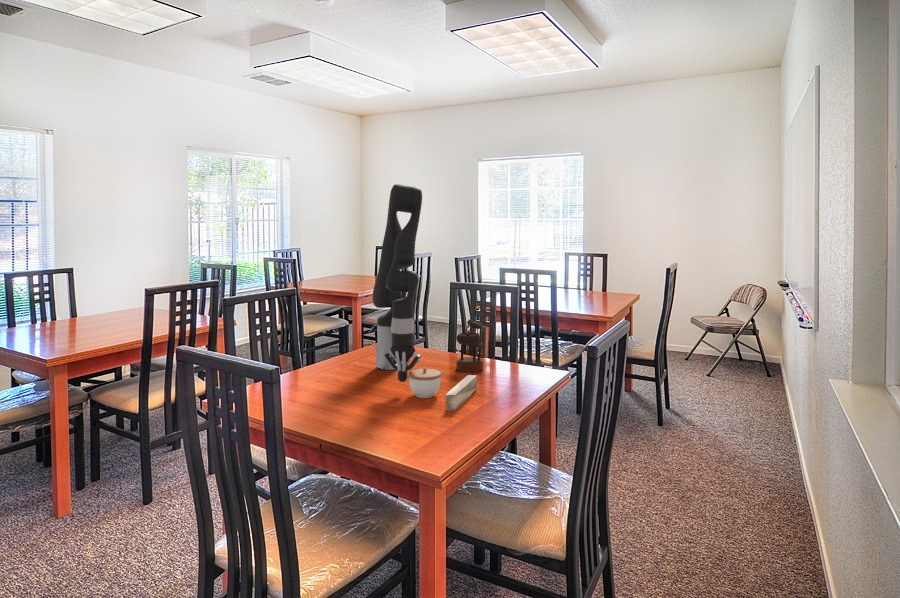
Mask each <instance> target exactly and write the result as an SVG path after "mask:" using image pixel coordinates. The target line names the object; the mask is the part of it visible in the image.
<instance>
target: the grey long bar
mask: <svg viewBox="0 0 900 598" xmlns="http://www.w3.org/2000/svg"><path fill="white" fill-rule="evenodd" d="M477 378H478V376H477V375H476V374H475V375H474V374H473V375H472V374H468V375H466V376H465V377H464V378H463V379H462V380H460V382H458V383H457V384H455V385H454V387H452V388H451V389H450V390H449V391H448V392H447V393H446V394H445V411H450V412H455V411H457V410H458V409H459V408H460V407H461V405H463V404H464V403H465V402H466V401H467V400H468V399H469V398H470V397H471V396H472V395H473V394H474V393H475V392H476V391H477V390H478V389H477V381H478V379H477ZM475 390H476V391H475ZM474 391H475V392H474ZM473 392H474V393H473ZM472 393H473V394H472ZM471 394H472V395H471Z"/></svg>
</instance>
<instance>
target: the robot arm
mask: <svg viewBox="0 0 900 598" xmlns="http://www.w3.org/2000/svg"><path fill="white" fill-rule="evenodd" d="M422 203H423V191H422V189H421V188H420V187H418V186H411V185H405V184H397V183H395V184H393V185H392V187H391V190H390V193H389V200H388V210H387V216H386V217H387V218H386V225H385V231H384V235H383V240H382V245H381V251H380V259H379V264H378V270H377V271H378V272H377V275H376V278H375V283H374V285H373V290H372V303H373V306H374V307H376V308H378V309H379V308H380V309H387V308H388V309H389V310H388V311H387V312H386V313H385V314H382V315H380V316H378V317H377V319H376V320H377V321H376V322H377V323H376V327H377V328H376V329H377V330H376V331H377V333H376V335H377V342H376V344H375V368H376V367H377V368H376V369H379V368H380V370H383V369H385V370H384V371H394V370H396V371H397V380H398V381H399V382H401V383H405V382H406V381H407V380H408V371H411V370H412V369H413V368H414V367H415V365H416V364H417V363H418V362H419V361H420V359H421V358H422V355H421V354H418V353H417V352H416V348H415V346H414V345H415V320H414V303H415V297H416V294H417V290H418V286H419V282H420V278H419V275H418V273H417V272H416V271H413V270H403V269H407V268H410V267H412V266H413V265H414V264H415V258H416V257H415V254H416V249H415V248H416V241H417V238H416V237H417V233H418V229H419V223H420V218H421V211H422ZM398 212H401V213H407V214H408V213H409V214H410V218H409V220H408V221H407V223H406V224H405V225H404V227H403V228H402V226H401V224H400V221H399V218H398ZM403 293H407V295H406V296H405V297H403ZM411 358H412V361H411V362H410V360H411Z"/></svg>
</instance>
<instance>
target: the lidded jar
mask: <svg viewBox="0 0 900 598" xmlns="http://www.w3.org/2000/svg"><path fill="white" fill-rule="evenodd" d="M441 376H442V372H441V371H439V370H438V369H433V368H427V367H423V368H419V369H413V370H412V369H411V370H409V372H408V383H409V387H410V390H411V392H412V393H413V394H414V395H415V397H416V398H419V399H429V398H432V397H434V396H435V395H436V394H437V392H438V391H439V389H440V386H441V381H442V380H441V378H442V377H441Z"/></svg>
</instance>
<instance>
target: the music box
mask: <svg viewBox="0 0 900 598" xmlns="http://www.w3.org/2000/svg"><path fill="white" fill-rule="evenodd" d="M466 323H467V327H466V328H469V327H471V328H473V330H474V329H476V332H473V331H472V332H471V330H470V329H467V330H466V331H465V332H459V333H458V334H457V336H456V338H455V339H456V342H457V343H458V344H459V345H460V349H457V347H448V350H454V351H455V353H458V352H459V353H460V358H458V359H457V360H456V364H455V365H456V371H458V372H462V373H478V372H482V371H483V370H484V361H483V360H482V359H485V353H483V352H484V351H483V349H481V351H480V352H479V349H476V348H477V347H478V348H485V347H486V344H485V343H480V341H481V336H480V333H479V330H480V329H481V330H483V328H484V329H487V328H488V326H485V325H483V324H481V323H479V322H478V321H473V319H468V320H467V322H466ZM464 346H466V349H465V350H464ZM470 346H472V348H473V349H472V350H471V349H470ZM464 353H465V354H466V355H470V354H471V356H466V357H465V356H464Z"/></svg>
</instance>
